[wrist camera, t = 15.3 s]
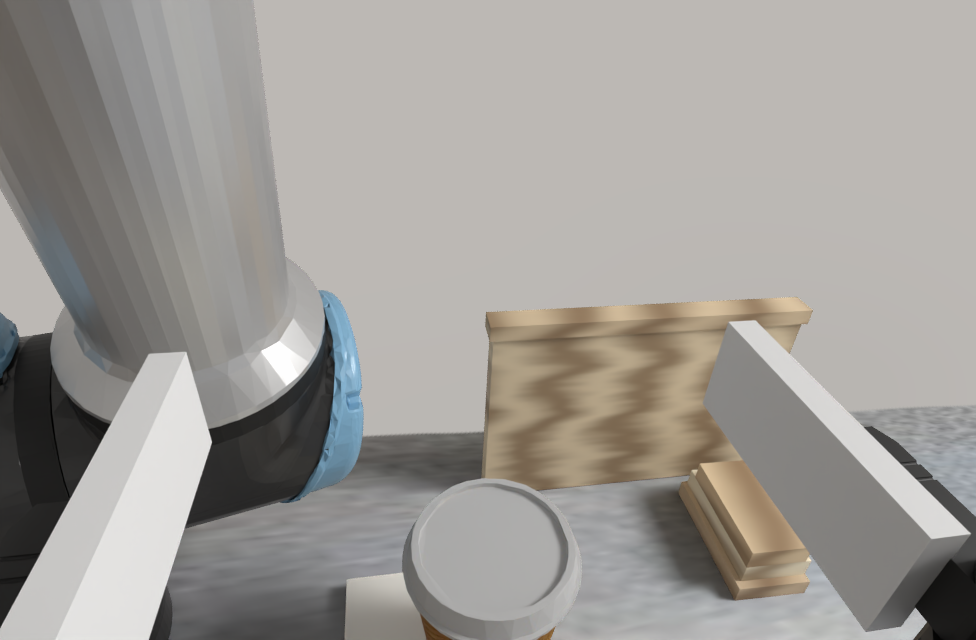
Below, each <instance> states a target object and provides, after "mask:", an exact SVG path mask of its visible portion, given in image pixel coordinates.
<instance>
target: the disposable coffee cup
mask: <svg viewBox="0 0 976 640" xmlns="http://www.w3.org/2000/svg"><path fill="white" fill-rule="evenodd" d="M402 571H403V576H404V580H405V585H406V588H407V592H408V594H409V595H410V597H411V599H412V601H413V603H414V605H415V607H416V609H417V611H418V612H419V613H420V616H421V620H422V624H423V628H424V631H425V635H426V640H550V638H551V636H552V634H553V632H554V629H555V627H556V626H557V625H558V624H559V623H560V622H561V621H562V619H563V618H564V617H565V616H566V614H567V613H568V612H569V611H570V609H571V608H572V606H573V604H574V602H575V599H576V597H577V595H578V592H579V589H580V584H581V578H582V561H581V555H580V551H579V547H578V544H577V542H576V540H575V537H574V535H573V533H572V530H571V528H570V525H569V523H568V521H567V520H566V518H565V516H564V515H563V514H562V512H561V511H560V510H559V508H558V507H557V506H556V505H555V504H554V503H553V502H551V501H550V500H549V499H548V498H547V497H546V496H544V495H543V494H542V493H540V492H538V491H536V490H534V489H532V488H530V487H528V486H527V485H524V484H521V483H517V482H513V481H509V480H506V479H487V478H481V479H476V480H471V481H465V482H462V483H460V484H457V485H454V486H452V487H450V488H449V489H447V490H445V491H444V492H442V493H441V494H439V495H438V496H436V497H435V498H433V499H432V501H431V502H430V503H429V504H428V505H427V506H426V507H425V508H424V509H423V511H422V513H421V514H420V516H419V518H418V520H417V521H416V522H415V523H414V525H413V527H412V529H411V531H410V533H409V534H408V536H407V539H406V542H405V545H404V551H403V559H402Z"/></svg>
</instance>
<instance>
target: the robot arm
mask: <svg viewBox="0 0 976 640" xmlns="http://www.w3.org/2000/svg"><path fill="white" fill-rule="evenodd" d="M0 189H1V191H2V192H3V195H4V196H5V198H6V200H7V202H8V204H9V205H10V207H11V209H12V211H13V213H14V214H15V216H16V218H17V220H18V221H19V223H20V225H21V227H22V229H23V230H24V232H25V234H26V236H27V238H28V240H29V241H30V243H31V245H32V246H33V248H34V250H35V252H36V254H37V256H38V258H39V259H40V261H41V263H42V265H43V267H44V268H45V270H46V272H47V274H48V276H49V277H50V279H51V281H52V283H53V285H54V286H55V288H56V290H57V292H58V293H59V295H60V297H61V299H62V300H63V303H64V304H65V307H64V308H63V309H62V311H61V313H60V315H59V318H58V319H57V321H56V325H55V328H54V331H53V332H52V333H46V334H40V335H33V336H26V337H19V335H18V333H17V328H16V325H15V324H14V323H12V321H10V320H8V319H7V318H5V316H4V315H3V314H1V313H0V640H168V638H169V634H170V630H171V624H172V603H171V597H170V594H169V591H168V588H167V585H166V584H167V581H168V578H169V575H170V572H171V569H172V565H173V562H174V559H175V556H176V553H177V550H178V547H179V544H180V541H181V537H182V534H183V531H184V529H185V528H189V527H192V526H196V525H199V524H203V523H207V522H210V521H214V520H217V519H221V518H224V517H228V516H232V515H235V514H239V513H242V512H246V511H249V510H253V509H256V508H260V507H264V506H267V505H271V504H274V503H278V502H280V503H290V502H295V501H298V500H300V499H301V498H302V497H305V496H306V495H307V494H309V493H310V492H313V491H316V490H319V489H322V488H325V487H329V486H332V485H334V484H336V483H338V482H340V481H341V480H343V479H344V478H345V477H346V476H347V475H348V474H349V473H350V472H351V470H352V469H353V467H354V465H355V463H356V461H357V459H358V455H359V452H360V448H361V442H362V435H363V405H362V402H361V399H360V397H359V395H360V390H361V388H362V387H361V386H362V384H361V372H360V364H359V358H358V353H357V348H356V343H355V338H354V335H353V331H352V328H351V325H350V322H349V320H348V316H347V314H346V311H345V309H344V307H343V305H342V304H341V302H340V300H339V299H338V298H337V297H336V296H335V295H333V294H332V293H330V292H328V291H323V290H317V288H316V286H315V285H314V283H313V281H311V279H310V277H309V276H308V275H307V273H306V272H304V271H303V270H302V269H301V268H300V267H299V266H298V265H297V264H295V263H294V262H293V261H291V260H290V259H288V258H287V257H285V250H284V242H283V234H282V226H281V218H280V210H279V202H278V194H277V186H276V179H275V171H274V162H273V155H272V147H271V138H270V131H269V123H268V114H267V107H266V99H265V91H264V83H263V75H262V67H261V59H260V51H259V43H258V35H257V27H256V19H255V12H254V3H253V0H0ZM703 405H704V406H705V408H706V409H707V410H708V412H709V413H710V415H711V416H712V417H713V419H714V420H715V422H716V423H717V424H718V426H719V427H720V429H721V430H722V431H723V433H724V434H725V436H726V437H727V438H728V440H729V441H730V443H731V444H732V445H733V447H734V448H735V450H736V451H737V452H738V454H739V455H740V457H741V458H742V459H743V461H744V462H745V464H746V465H747V466H748V468H749V469H750V471H751V472H752V473H753V475H754V476H755V478H756V479H757V480H758V482H759V483H760V485H761V486H762V487H763V489H764V490H765V492H766V493H767V494H768V496H769V497H770V499H771V500H772V501H773V503H774V504H775V506H776V507H777V508H778V510H779V511H780V513H781V514H782V515H783V517H784V518H785V520H786V521H787V522H788V524H789V525H790V527H791V528H792V529H793V531H794V532H795V534H796V535H797V536H798V538H799V539H800V541H801V542H802V543H803V545H804V546H805V548H806V549H807V550H808V552H809V553H810V555H811V556H812V557H813V559H814V560H815V562H816V563H817V564H818V566H819V567H820V569H821V570H822V571H823V573H824V574H825V576H826V577H827V578H828V580H829V581H830V583H831V584H832V585H833V587H834V588H835V590H836V591H837V592H838V594H839V595H840V597H841V598H842V599H843V601H844V602H845V604H846V605H847V606H848V608H849V609H850V610H851V612H852V613H853V615H854V616H855V617H856V619H857V620H858V622H859V623H860V624H861V626H862V627H863V629H864V630H865V631H866V632H869V631H875V630H882V629H888V628H894V627H901V626H902V624H903V623H904V622H905V620H906V619H907V618H908V616H909V615H910V614H911V613H912V611H913V610H914V609H915V607H916V609H917V610H918V611H919V612H920V614H921V615H922V616H923V617H924V618H925V620H926V621H927V623H926V624H925V626H924V627H923V628H922V629H921V631H920V632H919V633H918V634H917V636H916V637H915V638H914V639H913V640H976V517H975V516H974V515H973V514H972V513H971V512H970V511H969V510H968V509H967V508H966V507H965V506H964V505H963V504H961V503H960V502H959V501H958V500H957V499H956V498H955V497H954V496H953V495H952V494H951V493H950V492H949V491H948V490H947V489H946V488H945V487H944V486H943V485H942V484H941V483H939V482H938V481H937V480H933V478H932V477H933V476H932V475H931V474H930V473H929V472H928V471H927V470H926V469H925V468H924V467H923V466H922V465H921V464H920V465H918V464H917V462H916V460H915V459H914V458H913V457H912V456H911V455H910V454H909V453H908V452H907V451H906V450H905V449H904V448H903V447H902V446H901V445H900V444H899V443H898V442H896V441H895V440H893V439H891V438H890V437H888V436H886V435H885V434H883V433H882V432H880V431H878V430H877V429H875V428H874V427H872V426H871V427H863V426H862V425H861V424H860V423H859V422H858V421H857V420H856V419H855V418H854V417H853V416H851V415H850V414H849V413H848V412H847V411H846V410H845V409H844V408H843V407H842V406H841V405H840V404H839V403H838V402H837V401H836V400H835V399H834V398H833V397H832V396H831V395H830V394H829V393H828V392H827V391H826V390H825V389H824V388H823V387H822V386H821V385H820V384H819V383H818V382H817V381H816V380H815V379H814V378H813V377H812V376H811V375H810V374H809V373H808V372H807V371H806V370H805V369H804V368H803V367H802V366H801V365H800V364H799V363H798V362H797V361H796V360H795V359H794V358H793V357H792V356H791V355H790V354H789V353H788V352H787V351H786V350H785V349H784V348H783V347H782V346H781V345H780V344H779V343H778V342H777V341H776V340H775V339H774V338H773V337H772V336H771V335H770V334H769V333H768V332H767V331H766V330H765V329H764V328H763V327H762V326H761V325H760V324H759V323H758V322H757V321H756V320H752V321H734V322H728V325H727V328H726V331H725V334H724V337H723V340H722V343H721V347H720V350H719V353H718V356H717V359H716V362H715V365H714V369H713V372H712V375H711V378H710V381H709V384H708V388H707V391H706V394H705V397H704V400H703Z"/></svg>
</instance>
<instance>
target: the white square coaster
mask: <svg viewBox="0 0 976 640" xmlns="http://www.w3.org/2000/svg"><path fill="white" fill-rule="evenodd" d="M344 640H426V635H425V631H424V628H423V624H422V620H421V616H420V613H419V612H418V611H417V609H416V607H415V605H414V603H413V601H412V599H411V597H410V595H409V594H408V592H407V588H406V585H405V580H404V576H403V573H395V574H387V575H379V576H370V577H362V578H353V579H347V588H346V613H345V638H344Z"/></svg>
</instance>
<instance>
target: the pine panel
mask: <svg viewBox="0 0 976 640" xmlns="http://www.w3.org/2000/svg"><path fill="white" fill-rule="evenodd" d="M812 312H813V310H812V309H811V308H809V307H808V306H807V305H806V304H805V303H803V302H802V301H801V300H800V299H799V298H798V297H788V298H769V299H747V300H727V301H707V302H687V303H667V304H666V303H665V304H645V305H625V306H605V307H584V308H564V309H542V310H523V311H502V312H486V324H485V327H486V330H487V334H488V337H489V356H488V373H487V392H486V408H485V409H486V410H485V427H484V443H483V461H482V478H487V479H506V480H509V481H513V482H517V483H521V484H524V485H527V486H528V487H530V488H532V489H534V490H546V489H556V488H566V487H576V486H586V485H596V484H606V483H615V482H625V481H635V480H645V479H655V478H665V477H675V476H685V475H690V473H691V470H698V467H699V464H701V463H714V462H727V461H741V460H743V459H742V458H741V457H740V455H739V454H738V452H737V451H736V450H735V448H734V447H733V445H732V444H731V443H730V441H729V440H728V438H727V437H726V436H725V434H724V433H723V431H722V430H721V429H720V427H719V426H718V424H717V423H716V422H715V420H714V419H713V417H712V416H711V415H710V413H709V412H708V410H707V409H706V408H705V406H704V405H703V400H704V397H705V394H706V391H707V388H708V384H709V381H710V378H711V375H712V372H713V369H714V365H715V362H716V359H717V356H718V353H719V350H720V347H721V343H722V340H723V337H724V334H725V331H726V328H727V325H728V322H734V321H752V320H756V321H757V322H758V323H759V324H760V325H761V326H762V327H763V328H764V329H765V330H766V331H767V332H768V333H769V334H770V335H771V336H772V337H773V338H774V339H775V340H776V341H777V342H778V343H779V344H780V345H781V346H782V347H783V348H784V349H785V350H786V351H787V352H788V353H789V354H790V351H791V349H792V346H793V344H794V341H795V339H796V336H797V334H798V331H799V329H800V326H801V324H808V322H809V319H810V317H811V314H812Z"/></svg>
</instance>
